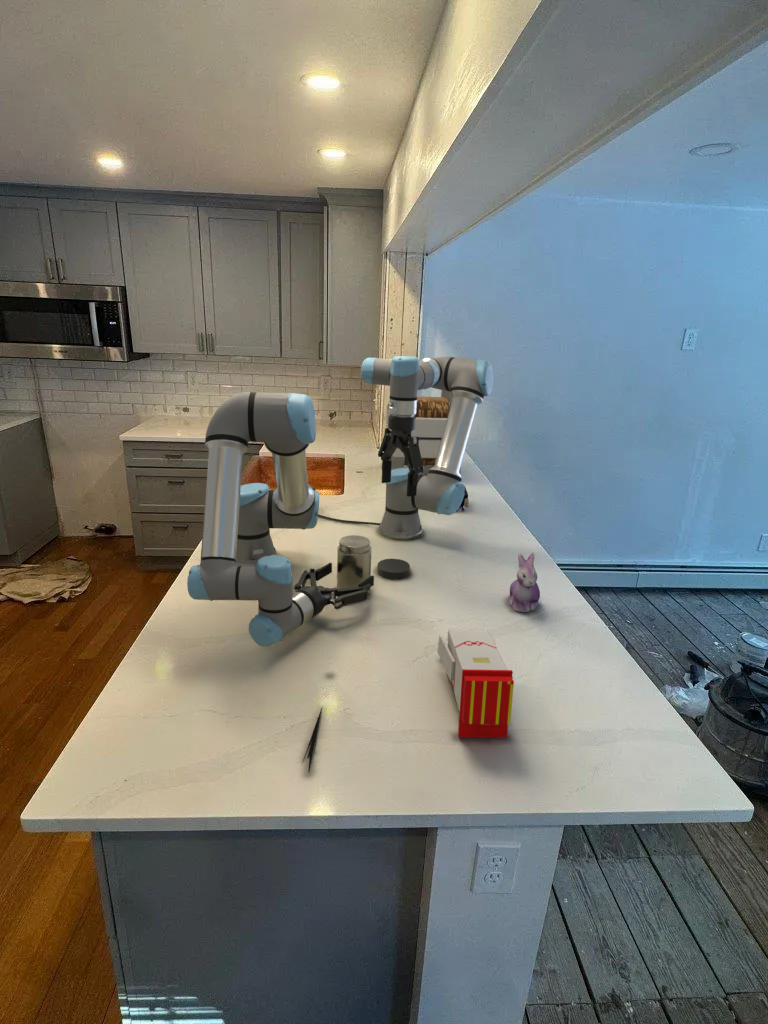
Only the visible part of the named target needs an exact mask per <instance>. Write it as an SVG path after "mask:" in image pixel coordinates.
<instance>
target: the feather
mask: <svg viewBox="0 0 768 1024" xmlns="http://www.w3.org/2000/svg"><path fill="white" fill-rule="evenodd" d="M329 675H330V676H331V675H332V674H331V673H330V674H329ZM322 710H323V707H321V708H320V710H319V713H318V716H317V719H316V723H315V725H314V728H313V731H312V733H311V737H310V739H309V742H308V745H307V748H306V751H305V754H304V757H303V760H302V763H301V767H302V765H303V763H304V761H305V758H308V759H309V760H308V762H307V763H308V764H307V766H308V771H310V770H311V766H312V765H311V764H312V760H313V757H315V756H314V755H315V751H316V749H315V746H317V739H318V733H319V729H320V722H321V717H322V712H323V711H322ZM313 754H314V755H313ZM306 755H307V757H306Z"/></svg>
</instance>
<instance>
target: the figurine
mask: <svg viewBox="0 0 768 1024" xmlns="http://www.w3.org/2000/svg"><path fill="white" fill-rule="evenodd" d="M517 559H518V569H517V572H516V579H515V580H514V581H512V582H511V584H510V586H509V595H508V604H509V606H511V607H512V609H513V611H516V612H521V613H528V612H530V611H534V610H536V608H537V606H538V604H539V601H540V598H541V592H540V591H541V590H540V588H539V585H538V583H537V581H538V573H537V571H536V568H535V566H534V561H535V553H534V552H530V553H529V555H528V557H527V559H525V557H524V556H523V554H522V553H518V556H517Z"/></svg>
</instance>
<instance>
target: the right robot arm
mask: <svg viewBox="0 0 768 1024" xmlns="http://www.w3.org/2000/svg"><path fill="white" fill-rule="evenodd" d="M360 377H361V379H362V381H363V382H364V383H366V384H370V385H378V386H386V387H389V401H390V402H388V403H389V413H390V415H389V418H388V428H386V427H385V428H384V433H383V437H382V441H381V444H380V446H379V450H378V451H377V456H378V458H380V460H381V484H385V504H384V505H385V507H384V508H385V509H384V513H383V515H382V519H381V522H370V521H357V520H346V519H340V518H335V517H330V516H325V515H322V514H318V518H322V519H326V520H329V521H334V522H339V523H340V522H341V523H345V524H346V523H347V524H358V525H371V526H378V533H379V534H380V535H381V536H382V537H385V538H387V539H389V540H395V541H410V540H415V539H418V538H420V537H421V536H422V535H423V525H422V524H421V518H420V515H419V510H421V511H426V512H429V513H435V514H437V515H445V516H452V515H453V514H455V513H456V512H457V511H458V510H459V509H460V508H459V507H460V505H461V503H462V500H463V498H464V491H465V487H466V485H465V484H464V483H463V482H462V481H463V477H462V475H461V474H459V470H460V467H461V468H462V462H463V459H464V455H465V451H466V447H467V444H468V441H469V437H470V433H471V430H472V427H473V426H472V425H473V422H474V417H475V414H476V410H477V407H478V405H481V404H482V403H483V401H484V398H485V397H488V396H491V393H492V391H493V388H494V370H493V366H492V364H491V362H490V361H488V360H486V359H479V358H469V357H467V358H466V357H456V356H440V357H439V356H438V357H424V358H421V360H420V359H419V358H418V357H416V356H411V355H396V356H393V357H392V358H381V357H379V358H378V357H367V358H365V359H364V360H363V362H362V364H361V366H360ZM430 388H432V389H436V390H440V391H442V390H444V391H450V393H449V395H450V396H451V398H452V403H451V406H450V410H449V414H448V417H447V421H446V425H445V428H444V432H443V436H442V439H441V443H440V447H439V450H438V454H437V458H436V461H435V465H434V466H431V467H430V468H428V469H427V470H428V471H427V474H425V475H424V474H423V473H424V471H425V470H424V469H425V468H424V466H423V464H422V459H421V454H420V449H419V438H418V436H417V437H412V434H411V432H412V431H413V430H414V429H415V424H416V417H415V416H414V415H415V414H416V411H417V396H418V391H420V390H421V391H422V390H427V389H430ZM408 446H409V448H408ZM397 448H399V449H400V450H401V452H403V453H404V456H405V459H406V462H407V465H408V466H407V465H406V467H405V466H404V468H397V469H393V470H391V465H392V461H391V457H392V455H393V453H394V452H395V450H396V449H397ZM388 460H389V461H388Z"/></svg>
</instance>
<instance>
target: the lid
mask: <svg viewBox="0 0 768 1024" xmlns="http://www.w3.org/2000/svg"><path fill="white" fill-rule="evenodd" d="M376 566H377V567H376V572H377V574H378V575H379V576H380V577H382V578H384V579H388V580H402V579H405V578H407V577H408V576H410V573H411V565H410V563H409V562H407V561H406V560H403V559H401V558H386V559H382V560H379V561H378V563H377V565H376Z"/></svg>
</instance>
